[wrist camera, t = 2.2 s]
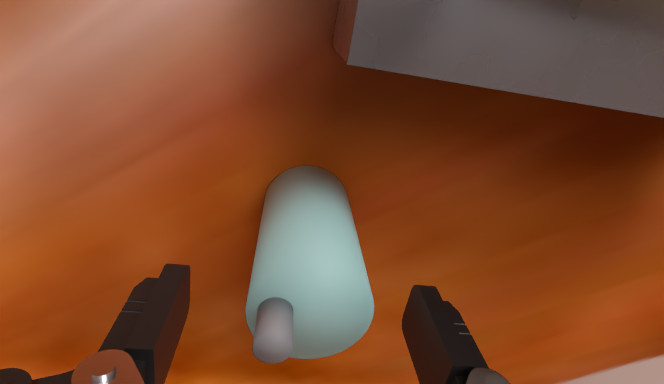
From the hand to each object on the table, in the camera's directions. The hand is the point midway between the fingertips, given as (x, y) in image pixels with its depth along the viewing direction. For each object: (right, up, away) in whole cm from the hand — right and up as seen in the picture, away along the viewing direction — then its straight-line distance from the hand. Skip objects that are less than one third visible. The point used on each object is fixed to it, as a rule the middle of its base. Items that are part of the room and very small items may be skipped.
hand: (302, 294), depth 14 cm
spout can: (0, +3, +7) cm, 7 cm away
